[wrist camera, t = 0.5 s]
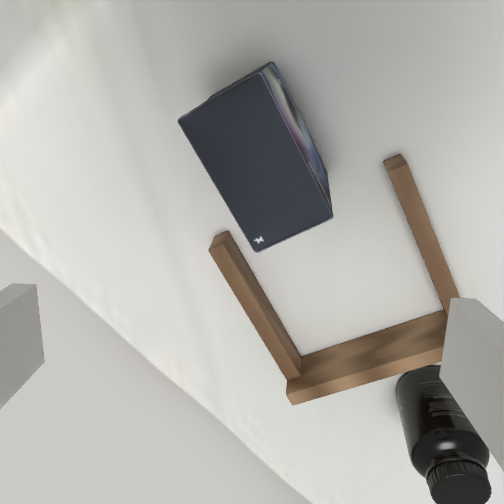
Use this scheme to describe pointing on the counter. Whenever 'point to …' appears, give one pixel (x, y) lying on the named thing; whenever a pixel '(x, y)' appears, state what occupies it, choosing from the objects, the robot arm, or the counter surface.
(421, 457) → the supplement bottle
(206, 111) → the small box
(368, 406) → the counter surface
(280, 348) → the channel
